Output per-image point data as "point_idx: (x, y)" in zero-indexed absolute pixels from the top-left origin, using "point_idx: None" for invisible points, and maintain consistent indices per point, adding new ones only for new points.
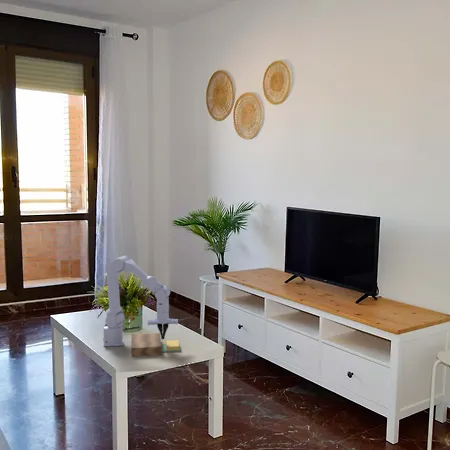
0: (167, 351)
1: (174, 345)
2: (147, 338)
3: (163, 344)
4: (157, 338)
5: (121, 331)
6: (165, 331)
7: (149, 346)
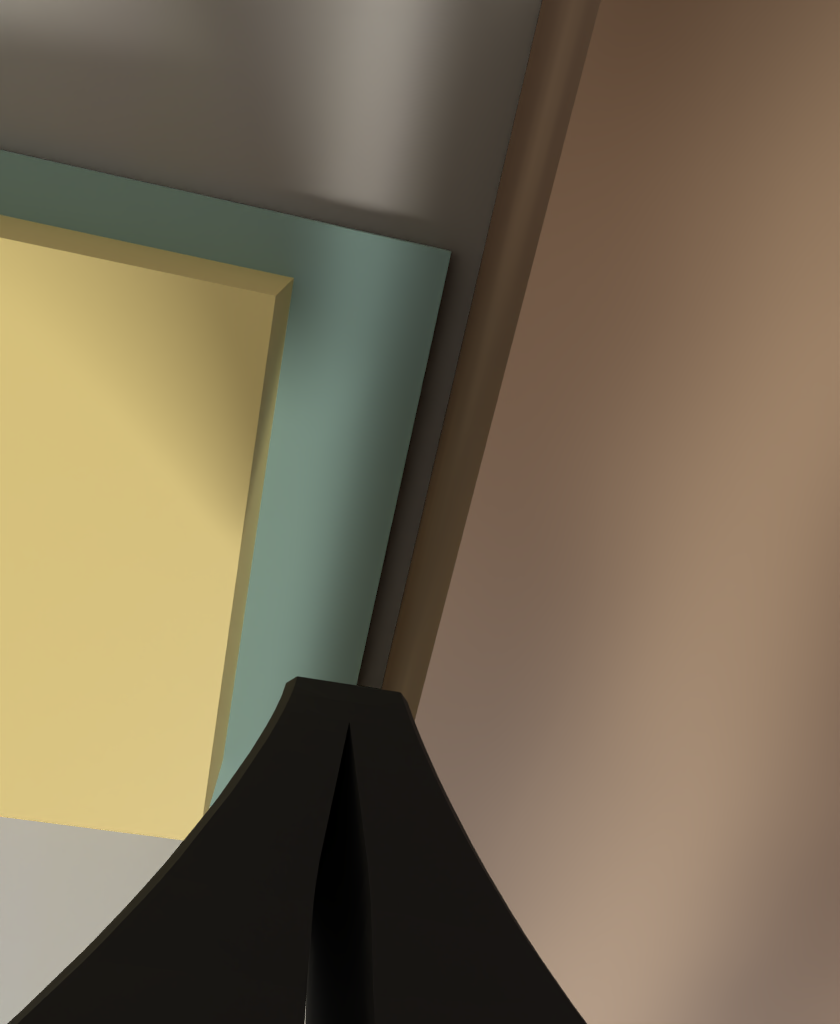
0: (283, 215)
1: None
2: (759, 972)
3: None
4: None
5: None
6: (136, 955)
7: None
